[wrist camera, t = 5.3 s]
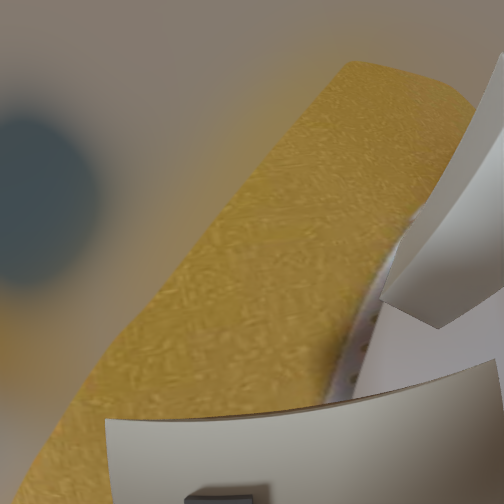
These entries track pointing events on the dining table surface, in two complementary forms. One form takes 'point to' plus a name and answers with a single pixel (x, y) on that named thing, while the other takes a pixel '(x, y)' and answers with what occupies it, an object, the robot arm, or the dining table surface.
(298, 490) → the marked block
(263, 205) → the dining table surface
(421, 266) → the milk
